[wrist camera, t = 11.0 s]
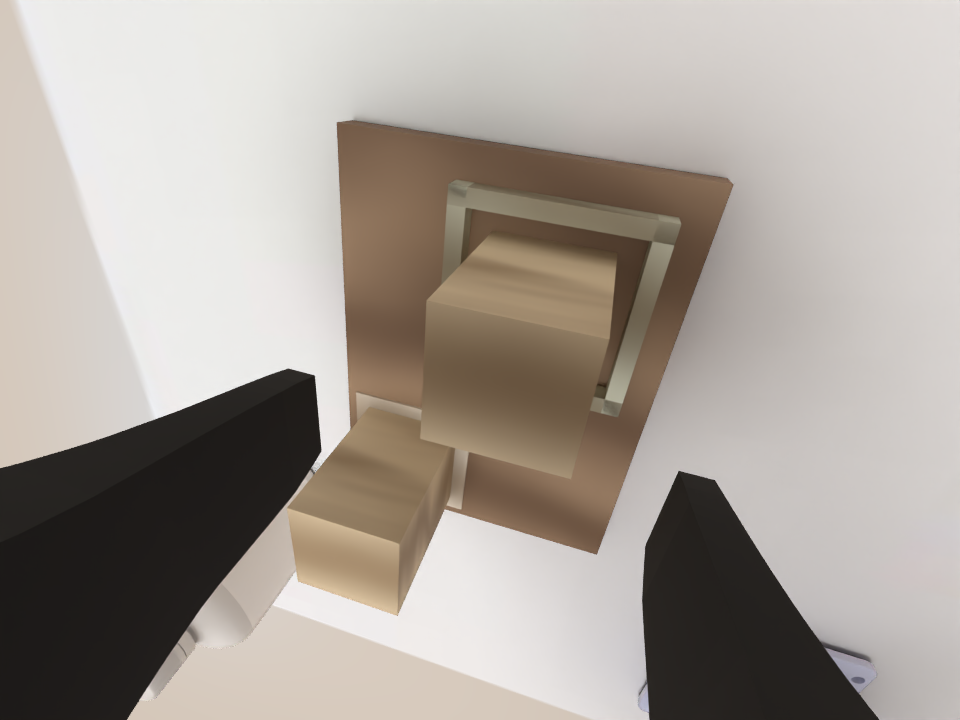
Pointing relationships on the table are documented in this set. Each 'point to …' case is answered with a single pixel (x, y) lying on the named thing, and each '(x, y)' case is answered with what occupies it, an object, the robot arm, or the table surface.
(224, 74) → the table surface
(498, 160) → the board
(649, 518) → the table surface
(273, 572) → the eye dropper bottle
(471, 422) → the maple peg
